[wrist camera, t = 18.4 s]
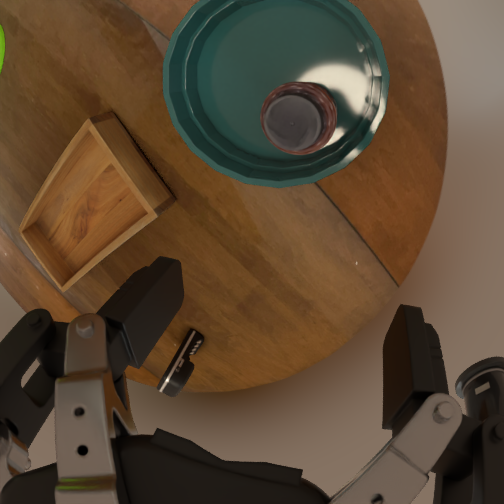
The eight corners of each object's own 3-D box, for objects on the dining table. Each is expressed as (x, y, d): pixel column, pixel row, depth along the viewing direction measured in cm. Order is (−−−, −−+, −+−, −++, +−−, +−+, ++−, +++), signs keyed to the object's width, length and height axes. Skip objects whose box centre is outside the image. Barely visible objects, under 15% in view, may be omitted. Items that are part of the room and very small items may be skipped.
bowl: (384, 3, 20) (394, -13, 16) (365, 183, 31) (370, 203, 27) (192, -3, 24) (165, -15, 20) (190, 160, 36) (166, 175, 31)
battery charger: (198, 355, 56) (173, 402, 46) (180, 345, 56) (154, 391, 46) (210, 337, 52) (184, 389, 42) (191, 326, 52) (162, 376, 42)
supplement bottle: (343, 90, 26) (347, 94, 17) (329, 144, 30) (325, 175, 21) (285, 76, 27) (258, 73, 18) (274, 129, 31) (243, 153, 21)
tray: (114, 110, 34) (85, 118, 30) (178, 199, 39) (156, 218, 34) (37, 216, 49) (17, 230, 45) (80, 276, 54) (63, 293, 49)
